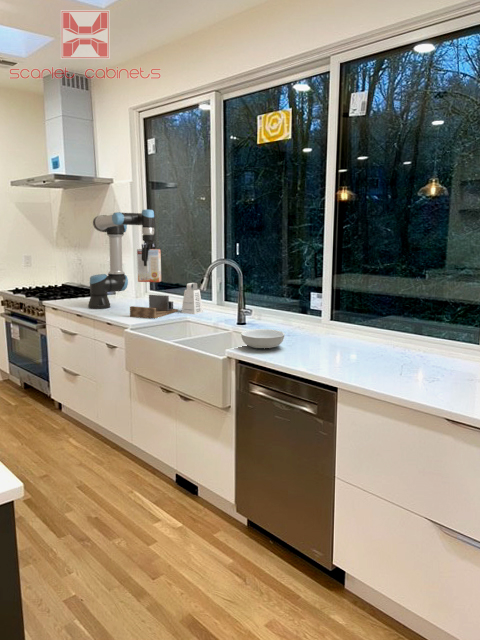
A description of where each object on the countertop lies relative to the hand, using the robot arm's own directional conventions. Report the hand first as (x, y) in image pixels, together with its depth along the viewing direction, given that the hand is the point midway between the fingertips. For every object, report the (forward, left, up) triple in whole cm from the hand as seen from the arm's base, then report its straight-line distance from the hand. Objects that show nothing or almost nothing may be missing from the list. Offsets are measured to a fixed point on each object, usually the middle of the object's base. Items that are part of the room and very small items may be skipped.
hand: (149, 270), depth 304 cm
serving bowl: (+94, -53, -29) cm, 112 cm away
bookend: (0, +15, -27) cm, 31 cm away
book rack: (0, +6, -29) cm, 30 cm away
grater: (+20, +21, -29) cm, 41 cm away
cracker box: (0, 0, -7) cm, 7 cm away
